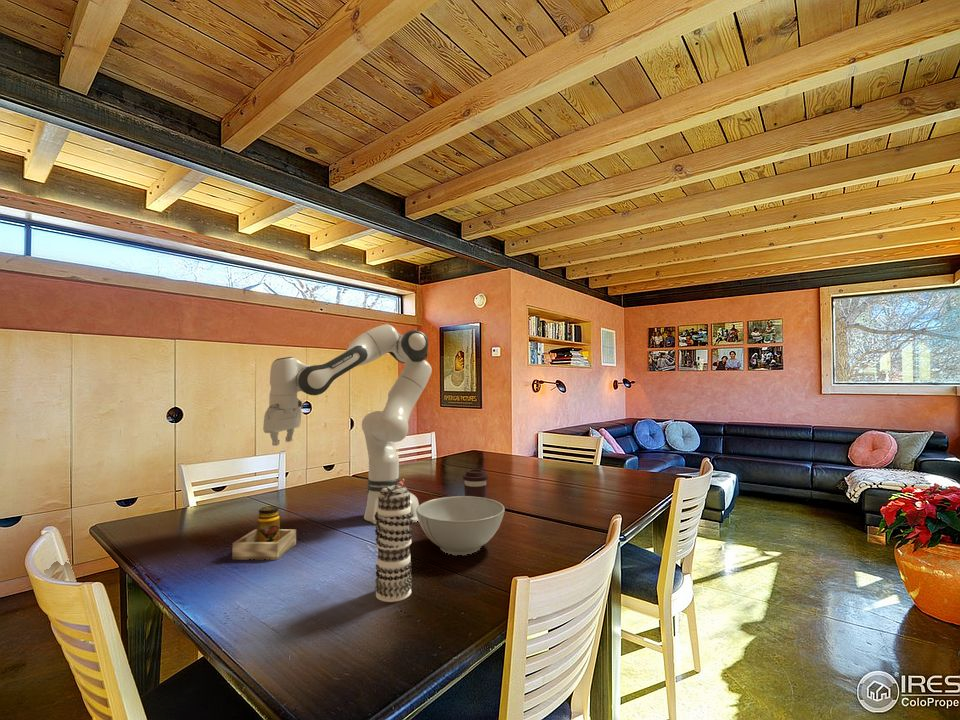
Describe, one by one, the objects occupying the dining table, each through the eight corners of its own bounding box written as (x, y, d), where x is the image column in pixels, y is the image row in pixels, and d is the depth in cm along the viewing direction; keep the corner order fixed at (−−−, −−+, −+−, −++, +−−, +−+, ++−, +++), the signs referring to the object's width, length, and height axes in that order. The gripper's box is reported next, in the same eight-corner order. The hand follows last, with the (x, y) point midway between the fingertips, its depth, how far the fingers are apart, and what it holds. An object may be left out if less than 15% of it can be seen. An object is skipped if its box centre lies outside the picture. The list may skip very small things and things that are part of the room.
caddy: (296, 544, 137) (296, 529, 137) (277, 559, 125) (277, 543, 125) (254, 543, 137) (255, 529, 138) (232, 559, 125) (232, 543, 126)
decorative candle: (377, 606, 99) (378, 493, 100) (370, 588, 108) (371, 485, 109) (417, 598, 103) (417, 489, 104) (407, 581, 111) (408, 481, 112)
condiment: (268, 554, 127) (269, 512, 127) (244, 551, 129) (245, 509, 130) (286, 545, 134) (287, 505, 134) (263, 542, 136) (264, 503, 137)
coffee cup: (465, 505, 179) (465, 468, 180) (489, 506, 178) (489, 468, 179) (460, 512, 169) (460, 473, 170) (486, 513, 168) (486, 473, 169)
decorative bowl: (399, 558, 126) (399, 515, 126) (439, 528, 151) (439, 493, 151) (487, 572, 117) (487, 525, 117) (515, 538, 142) (514, 500, 142)
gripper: (277, 405, 143) (276, 448, 142) (304, 402, 163) (303, 439, 163) (258, 405, 143) (257, 447, 142) (287, 402, 164) (287, 439, 163)
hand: (282, 443), depth 153 cm, fingers open, 8 cm apart
